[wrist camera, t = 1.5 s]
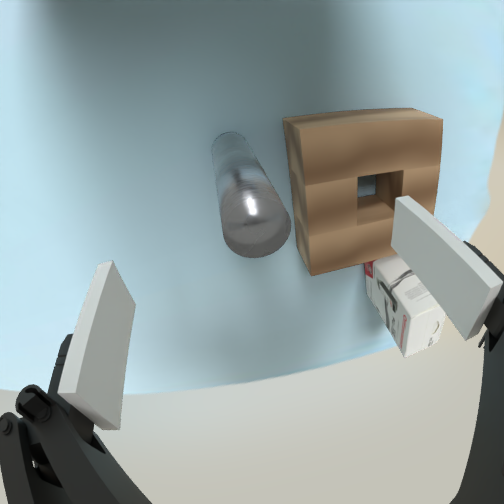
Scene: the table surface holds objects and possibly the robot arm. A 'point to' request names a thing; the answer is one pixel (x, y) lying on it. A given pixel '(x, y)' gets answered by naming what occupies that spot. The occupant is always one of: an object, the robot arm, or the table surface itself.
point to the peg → (247, 200)
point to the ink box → (404, 304)
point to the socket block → (346, 180)
